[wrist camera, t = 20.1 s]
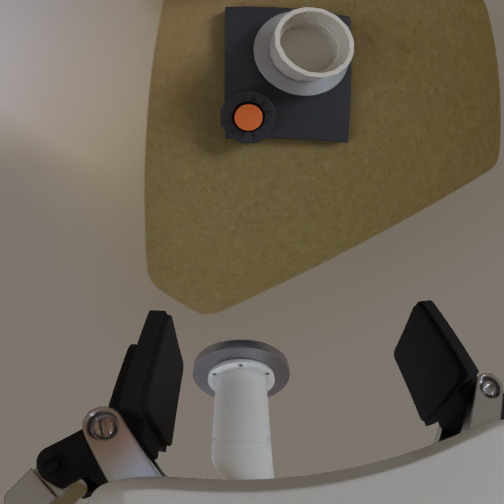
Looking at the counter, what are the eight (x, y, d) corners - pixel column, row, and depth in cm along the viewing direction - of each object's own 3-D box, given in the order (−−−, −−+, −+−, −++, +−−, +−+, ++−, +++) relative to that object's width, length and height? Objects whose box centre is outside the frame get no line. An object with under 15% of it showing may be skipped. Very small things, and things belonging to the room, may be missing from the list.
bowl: (334, 84, 25) (353, 82, 20) (269, 79, 25) (274, 74, 20) (335, 27, 22) (353, 14, 17) (269, 20, 22) (274, 3, 17)
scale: (344, 143, 32) (352, 147, 29) (223, 140, 31) (221, 143, 29) (346, 19, 24) (355, 13, 21) (223, 10, 23) (221, 2, 21)
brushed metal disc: (347, 100, 26) (348, 100, 26) (253, 94, 26) (253, 93, 26) (347, 19, 21) (348, 18, 21) (253, 9, 21) (253, 8, 21)
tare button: (261, 129, 28) (262, 130, 27) (235, 129, 28) (234, 130, 27) (261, 104, 27) (262, 104, 26) (234, 104, 27) (234, 104, 26)
